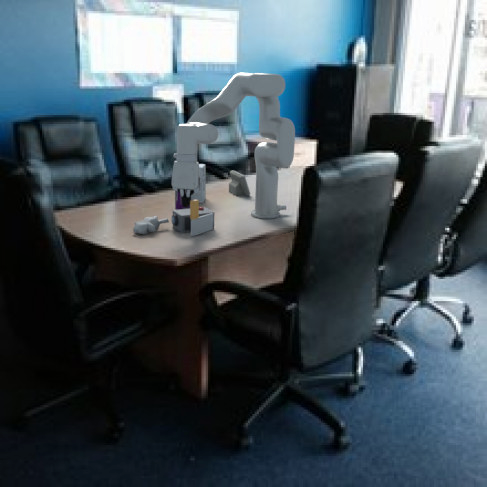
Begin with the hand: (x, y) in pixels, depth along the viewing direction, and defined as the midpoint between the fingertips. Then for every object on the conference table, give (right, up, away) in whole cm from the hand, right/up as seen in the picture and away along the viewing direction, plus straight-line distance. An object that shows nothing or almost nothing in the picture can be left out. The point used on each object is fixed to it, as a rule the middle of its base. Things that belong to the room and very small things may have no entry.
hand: (186, 206), depth 218 cm
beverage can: (-5, 0, +37) cm, 38 cm away
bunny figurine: (-15, -9, +6) cm, 19 cm away
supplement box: (-1, +6, +55) cm, 56 cm away
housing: (+2, -8, +11) cm, 14 cm away
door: (+6, -10, +5) cm, 12 cm away
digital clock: (+20, +11, +72) cm, 76 cm away
